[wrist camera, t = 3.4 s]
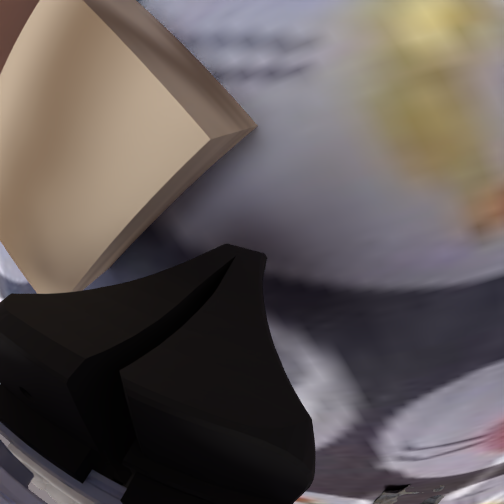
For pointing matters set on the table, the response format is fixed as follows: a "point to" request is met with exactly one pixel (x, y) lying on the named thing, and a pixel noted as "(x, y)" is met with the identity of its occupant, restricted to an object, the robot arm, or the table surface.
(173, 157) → the beech block
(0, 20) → the terracotta batten
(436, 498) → the driftwood
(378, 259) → the table surface
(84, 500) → the lumpy-topped squat cylinder
